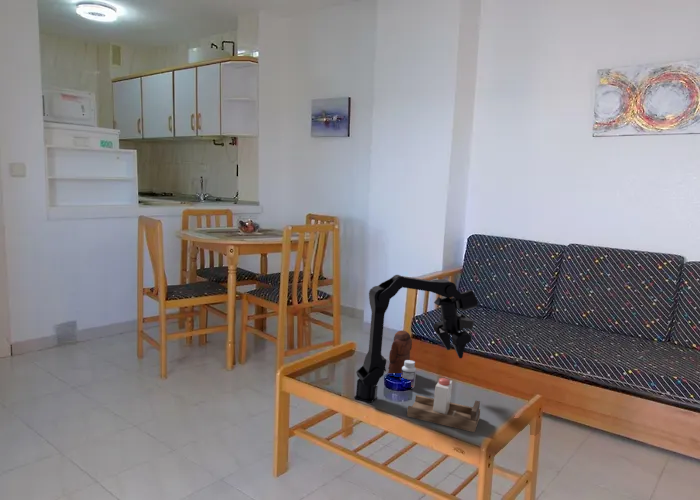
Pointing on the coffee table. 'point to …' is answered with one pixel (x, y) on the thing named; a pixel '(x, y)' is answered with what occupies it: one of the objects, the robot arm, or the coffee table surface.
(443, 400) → the white carton
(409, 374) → the pill bottle
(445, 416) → the wooden tray
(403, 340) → the wooden figurine
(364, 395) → the robot arm
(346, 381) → the coffee table surface
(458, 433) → the coffee table surface
